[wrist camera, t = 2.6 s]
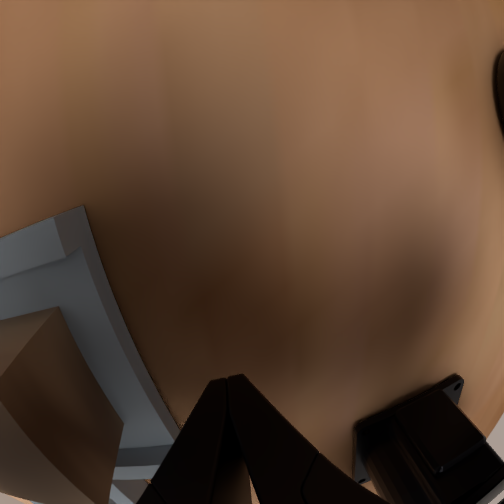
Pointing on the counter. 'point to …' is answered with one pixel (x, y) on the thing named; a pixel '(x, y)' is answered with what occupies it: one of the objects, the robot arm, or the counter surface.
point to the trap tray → (90, 335)
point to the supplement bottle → (501, 84)
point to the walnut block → (53, 415)
